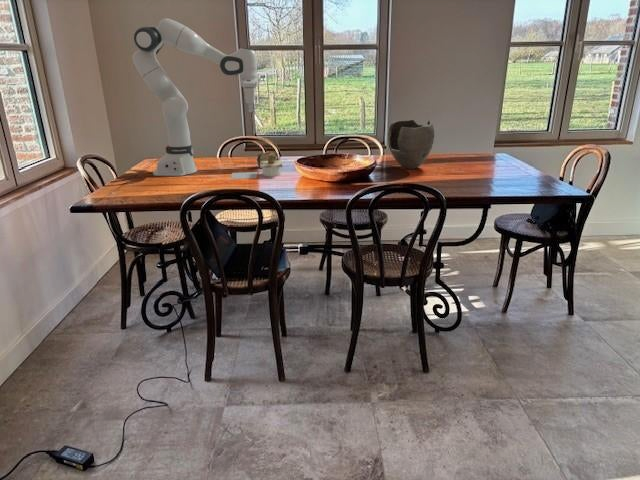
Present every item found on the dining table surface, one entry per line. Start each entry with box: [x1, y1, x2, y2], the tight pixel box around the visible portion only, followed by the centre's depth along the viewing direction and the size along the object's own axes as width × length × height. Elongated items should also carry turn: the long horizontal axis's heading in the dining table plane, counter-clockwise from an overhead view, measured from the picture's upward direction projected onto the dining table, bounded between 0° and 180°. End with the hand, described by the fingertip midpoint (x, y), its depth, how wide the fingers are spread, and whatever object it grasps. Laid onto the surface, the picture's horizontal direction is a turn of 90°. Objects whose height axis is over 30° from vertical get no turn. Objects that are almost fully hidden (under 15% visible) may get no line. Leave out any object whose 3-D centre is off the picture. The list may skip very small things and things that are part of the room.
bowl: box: [262, 167, 281, 178], centre depth 238 cm, size 9×9×5 cm
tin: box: [256, 150, 279, 168], centre depth 256 cm, size 15×3×8 cm, turn 143°
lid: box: [259, 155, 283, 169], centre depth 236 cm, size 11×11×5 cm
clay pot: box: [387, 119, 435, 170], centre depth 246 cm, size 24×24×25 cm
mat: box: [230, 171, 258, 180], centre depth 238 cm, size 13×13×1 cm
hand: (251, 111), depth 238 cm, fingers open, 8 cm apart
